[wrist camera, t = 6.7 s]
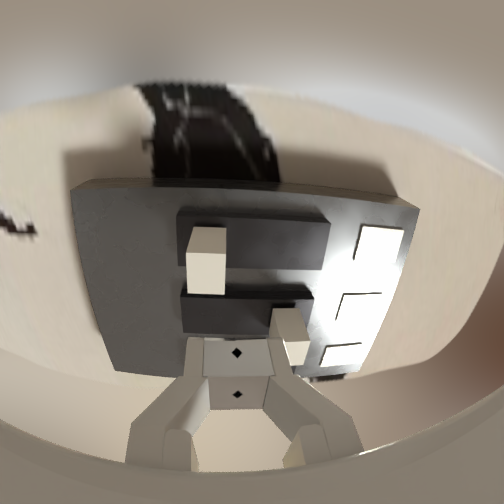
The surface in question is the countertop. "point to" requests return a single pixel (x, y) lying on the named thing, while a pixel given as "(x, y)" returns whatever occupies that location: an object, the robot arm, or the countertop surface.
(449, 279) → the countertop surface
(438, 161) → the countertop surface
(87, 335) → the countertop surface
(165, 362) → the breaker panel
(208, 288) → the block
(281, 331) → the block
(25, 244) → the countertop surface
